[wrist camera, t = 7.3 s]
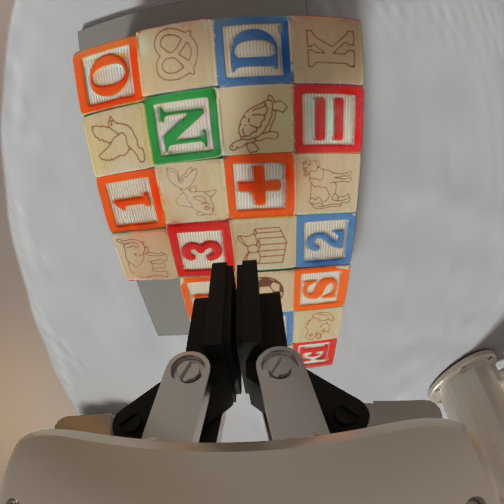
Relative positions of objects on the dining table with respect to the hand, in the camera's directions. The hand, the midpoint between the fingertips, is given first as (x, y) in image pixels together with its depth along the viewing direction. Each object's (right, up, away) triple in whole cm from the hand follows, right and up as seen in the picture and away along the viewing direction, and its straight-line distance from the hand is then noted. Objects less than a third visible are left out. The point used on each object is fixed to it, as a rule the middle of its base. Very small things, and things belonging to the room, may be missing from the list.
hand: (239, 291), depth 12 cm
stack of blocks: (+6, +4, +5) cm, 9 cm away
